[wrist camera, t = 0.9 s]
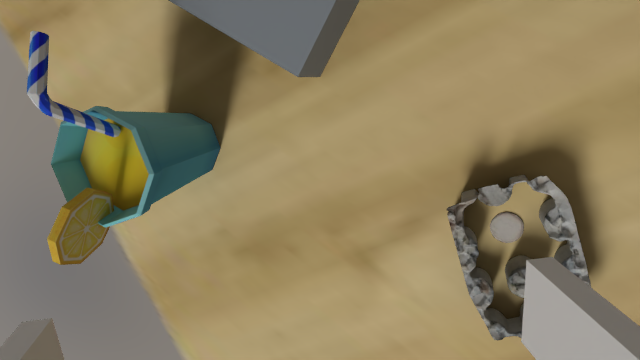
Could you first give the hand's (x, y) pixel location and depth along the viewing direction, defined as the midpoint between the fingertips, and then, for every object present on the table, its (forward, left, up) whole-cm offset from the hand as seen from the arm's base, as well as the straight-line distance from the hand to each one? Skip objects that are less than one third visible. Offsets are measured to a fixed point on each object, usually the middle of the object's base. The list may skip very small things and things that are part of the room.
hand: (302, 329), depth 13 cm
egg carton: (0, +10, -23) cm, 25 cm away
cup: (+6, -16, -23) cm, 29 cm away
